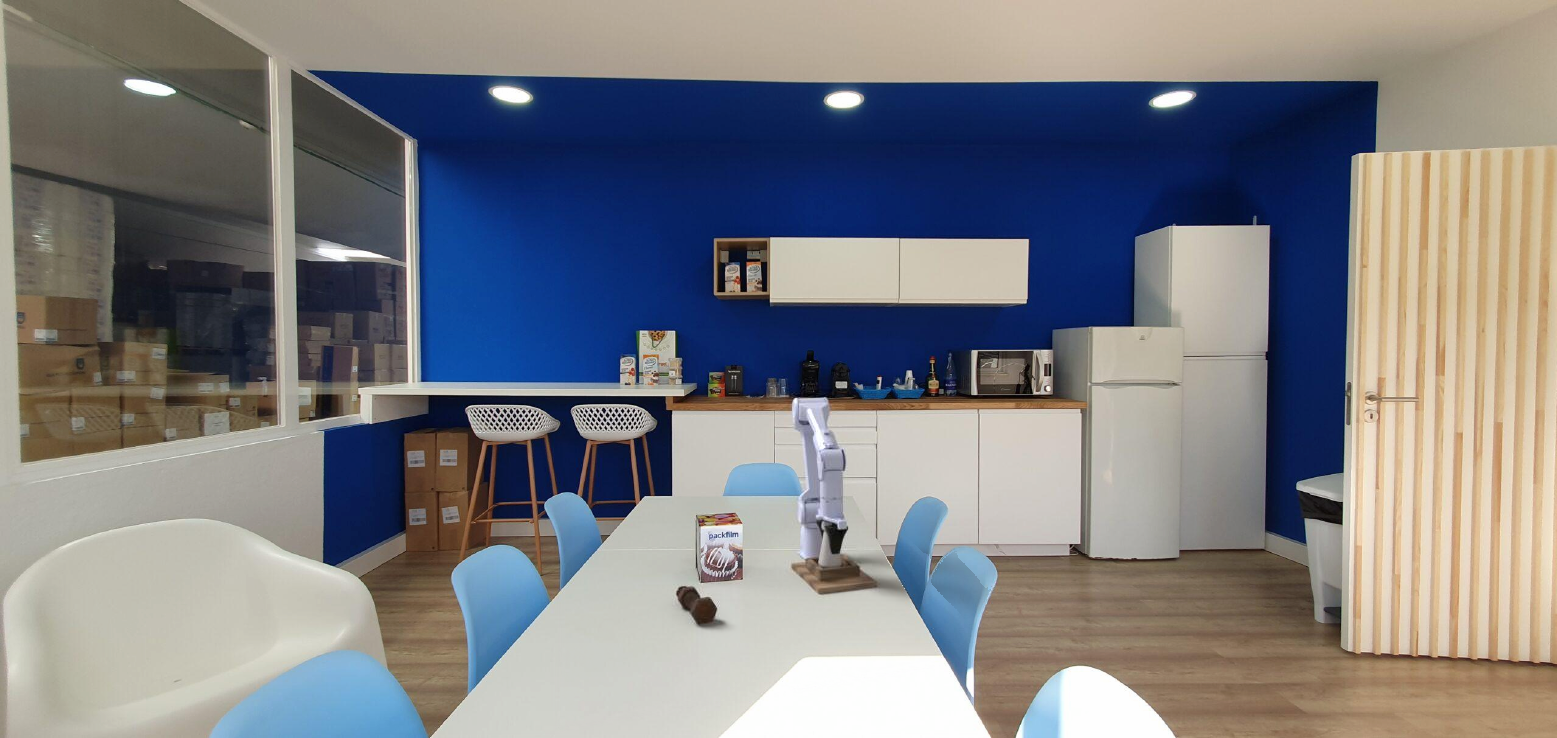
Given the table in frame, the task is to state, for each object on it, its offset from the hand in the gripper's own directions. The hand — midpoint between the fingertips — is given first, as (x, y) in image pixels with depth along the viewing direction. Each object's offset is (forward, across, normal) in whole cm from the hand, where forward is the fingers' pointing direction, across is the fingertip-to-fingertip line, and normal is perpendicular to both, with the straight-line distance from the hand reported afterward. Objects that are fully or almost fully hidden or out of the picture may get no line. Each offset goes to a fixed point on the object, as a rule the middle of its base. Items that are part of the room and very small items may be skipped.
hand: (832, 551), depth 172 cm
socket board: (+6, 0, 0) cm, 6 cm away
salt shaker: (+6, 0, -1) cm, 6 cm away
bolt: (+7, +11, -37) cm, 39 cm away
